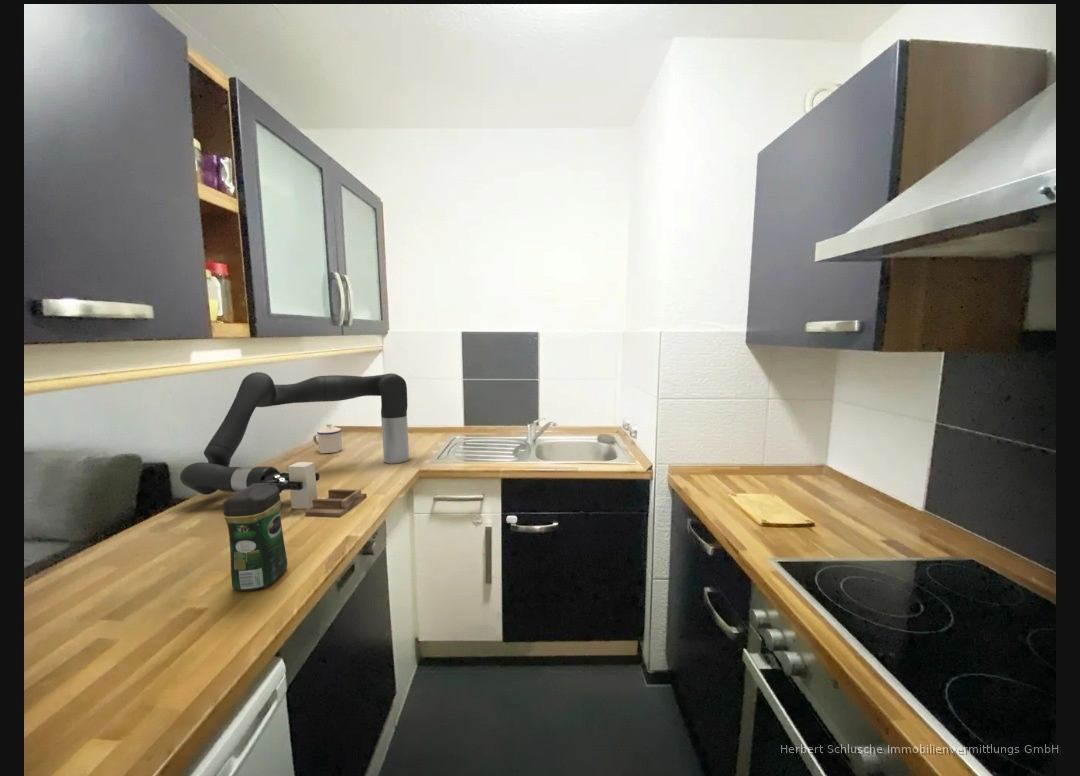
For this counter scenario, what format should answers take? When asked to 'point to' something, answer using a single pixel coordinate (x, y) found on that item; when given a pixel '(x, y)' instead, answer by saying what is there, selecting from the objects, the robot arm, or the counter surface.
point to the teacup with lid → (328, 439)
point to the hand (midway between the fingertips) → (310, 481)
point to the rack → (336, 503)
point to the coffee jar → (255, 536)
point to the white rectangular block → (307, 476)
